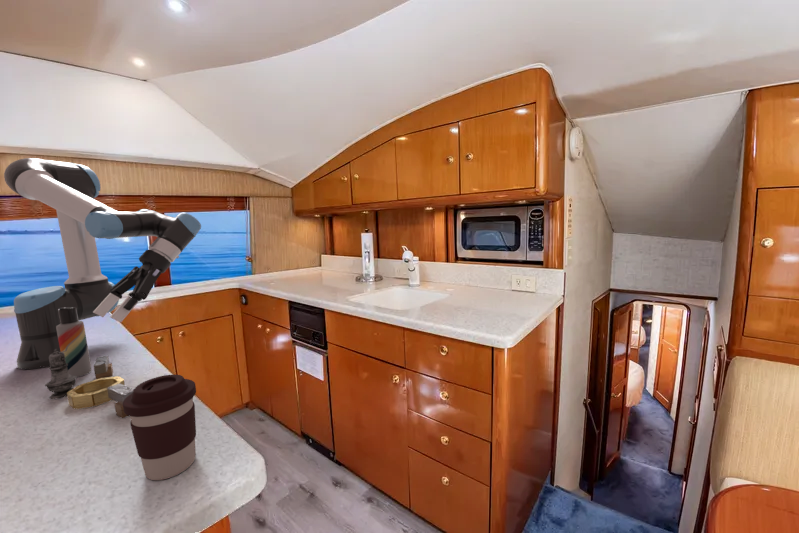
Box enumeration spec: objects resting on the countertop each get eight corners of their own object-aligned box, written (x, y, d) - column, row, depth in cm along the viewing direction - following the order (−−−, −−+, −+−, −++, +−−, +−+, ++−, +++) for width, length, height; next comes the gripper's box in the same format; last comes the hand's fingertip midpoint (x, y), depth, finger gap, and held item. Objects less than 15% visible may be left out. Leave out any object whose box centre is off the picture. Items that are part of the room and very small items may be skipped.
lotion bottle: (60, 377, 99) (48, 308, 96) (85, 368, 104) (73, 304, 101) (72, 379, 96) (59, 310, 94) (96, 371, 102) (84, 304, 99)
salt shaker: (59, 400, 84) (50, 353, 83) (40, 399, 86) (31, 352, 84) (85, 389, 90) (77, 344, 89) (67, 387, 91) (59, 344, 90)
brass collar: (65, 401, 84) (62, 389, 83) (115, 384, 92) (114, 373, 92) (77, 412, 78) (75, 400, 78) (130, 393, 86) (128, 382, 86)
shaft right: (107, 410, 79) (103, 388, 78) (126, 402, 82) (122, 382, 81) (123, 419, 75) (120, 396, 74) (142, 410, 78) (139, 389, 77)
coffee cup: (217, 452, 62) (207, 373, 60) (164, 494, 53) (150, 401, 51) (177, 443, 65) (166, 367, 63) (120, 481, 56) (105, 393, 54)
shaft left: (111, 381, 94) (108, 363, 93) (93, 385, 92) (90, 366, 91) (113, 371, 101) (110, 354, 100) (97, 375, 99) (94, 358, 98)
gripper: (190, 264, 100) (137, 329, 90) (153, 263, 114) (104, 319, 104) (167, 247, 95) (108, 314, 85) (131, 248, 109) (77, 306, 99)
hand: (106, 317), depth 94 cm, fingers open, 13 cm apart
